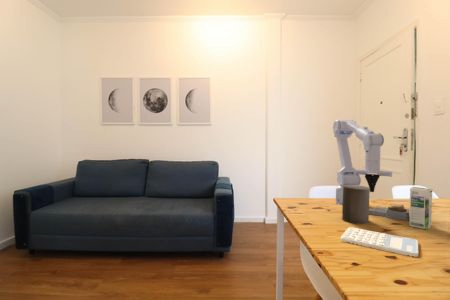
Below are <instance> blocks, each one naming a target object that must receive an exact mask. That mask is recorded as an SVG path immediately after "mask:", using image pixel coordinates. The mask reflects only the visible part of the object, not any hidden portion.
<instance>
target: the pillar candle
mask: <svg viewBox="0 0 450 300" xmlns="http://www.w3.org/2000/svg"><path fill="white" fill-rule="evenodd" d="M355 184H356V183H355ZM370 193H371V192H370V188H369V186H365V185H344V186H343V203H342V204H341V205H342V207H341V208H342V212H341V213H342V215H341V216H342V218H341V219H342V220H344V221H345V222H347V223H352V224H359V225H361V224H362V225H363V224H368V223H369V219H370V218H369V217H370V214H369V208H370Z"/></svg>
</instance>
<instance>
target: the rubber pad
mask: <svg viewBox="0 0 450 300" xmlns="http://www.w3.org/2000/svg"><path fill="white" fill-rule="evenodd" d="M374 209H379V210H388V206H387V207H386V206H379V205H378V206H376V207H374Z"/></svg>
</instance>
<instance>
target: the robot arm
mask: <svg viewBox="0 0 450 300" xmlns="http://www.w3.org/2000/svg"><path fill="white" fill-rule="evenodd" d="M332 130H333V134H334V137H335V139H336V144H337V148H338V156H339V161H340V166H341V169H339V170H338V171H337V173H336V175H337V177H336V180H337V184H338V185H337V186H336V188H335V204H337V205H338V204H341V205H342V203H343V186H344V185H359V186H361V182H362V178H361V176H360V175H362V176H363V175H364V178H365V180H366V182H367V185H368V187H369V188H370V193H374V192H375V189H376V185H377V183H378V180H379V178H380V177H390V178H392V177H393V171H385V170H381V147H382V146H383V145H384V142H385V139H384V137H385V136H384V135H383V134H382V133H379V132H378V133H375V132H374V131H373V130H370V129H369V128H368V126H360V125H359V124H357V121H356V120H354V119H350V120H349V119H336V120H334V123H333V125H332ZM353 134H355V136H356V138H357V139H359V140H360V141H361V142H362V145H363V149H364V150H363V151H365V156H364V157H365V158H364V169H356V168H355V167H353V162H352V157H351V152H350V146H349V142H348V138H351V136H352V135H353ZM355 183H356V184H355Z"/></svg>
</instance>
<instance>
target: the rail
mask: <svg viewBox="0 0 450 300" xmlns="http://www.w3.org/2000/svg"><path fill="white" fill-rule="evenodd" d="M390 207H391V206H387V208H388V210H379V209H375V208H373V207H372V208H370V207H369V215H372V216H379V217H386V218H387V219H395V220H398V221H399V220H400V221H405V222H406V221H407V222H410V208H404V209H405V212H399V211H392V210H390Z"/></svg>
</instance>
